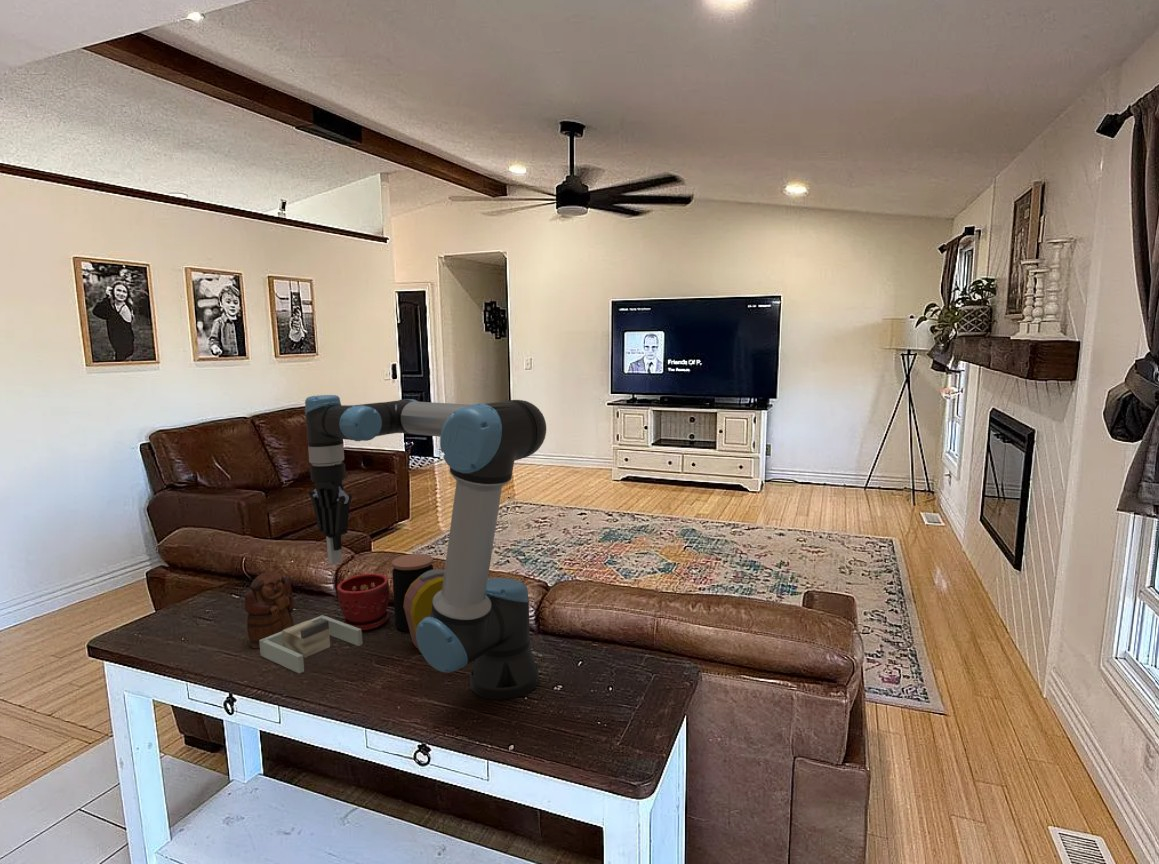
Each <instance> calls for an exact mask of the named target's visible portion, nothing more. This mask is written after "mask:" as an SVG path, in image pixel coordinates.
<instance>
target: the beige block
mask: <svg viewBox="0 0 1159 864" xmlns="http://www.w3.org/2000/svg"><path fill="white" fill-rule="evenodd" d="M282 633H283V645H284V647H285V648H287V649H290V650H292V651H294V652H297V653H299V654H301V655H303V659H306V658H308V657H310V656H312V655H314V654H318V653H319V652H321V651H323V650H326V649H328V648H330V647H331V637H330V636H331V635H329V621H328V620H325V621H322V622H320V623H317V624H316V623H313V622H311V621H309V620H308V619H307V620H305V621H302V622H300V623H297V624H294V626H292V627H289V628H287V629H284V630H282Z"/></svg>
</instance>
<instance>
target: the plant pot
mask: <svg viewBox="0 0 1159 864" xmlns="http://www.w3.org/2000/svg"><path fill="white" fill-rule="evenodd" d="M372 583H373V584H374V586H372ZM363 585H365V586H367V589H365V590H362V589H361V587H362V586H363ZM354 587H355V589H354V590H353V588H354ZM336 590H337V591H336V592H337V598H338V599H337V600H338V603H339V606H340V610H341V613H342V615H343V616H344V619H343V623H346V624H348V625H351V626H354V627H357V628H359V629H362V631H366V630H367V631H368V630H371V629H373V628H374V629H376V628H378V627H379V626H382V625H383V624H385V622H387V621H388V619H389V616H390V613H389V610H387V609H388V606H389V602H390V584H389V578H388V577H387V576H386V575H384V574H380V573H364V574H363V573H362V574H358V575H357V574H356V575H354V576H350V577H347V578H346V579H344V580H342V581H340V582H339V583H338V584H337V587H336Z"/></svg>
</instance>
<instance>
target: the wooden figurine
mask: <svg viewBox="0 0 1159 864" xmlns="http://www.w3.org/2000/svg"><path fill="white" fill-rule="evenodd" d="M249 588H250V589H249V590H247V591H246V593H245V595H244V610H245V612H247V614H248V615H247V619H246V627H247V635H248V639H249V642H250V643H249V644H250V647H251V648H252V649H260V642H259V640H261V639H264V638H266V637H269V636H271V635H274V634H276V633H279V632H281V631H282V630H284V629H287V628H289V627H292V626H295V623H294V619H293V616H292V613H293V612H294V608H295V601H294V596H293V590H292V585H291V581H290V579H289V578H287V577H284V576H283V575H282V574H280V573H278V572H276V571H267V572H263V573H261V574H259V575H258V576H256V577H255V578H254V579H253V580H252V581H251V583H250V585H249Z"/></svg>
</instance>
